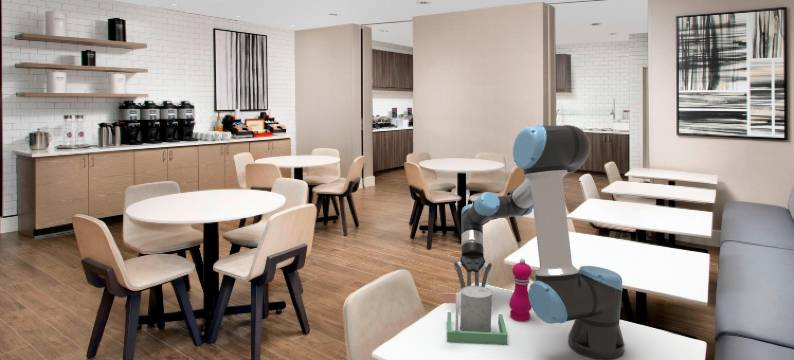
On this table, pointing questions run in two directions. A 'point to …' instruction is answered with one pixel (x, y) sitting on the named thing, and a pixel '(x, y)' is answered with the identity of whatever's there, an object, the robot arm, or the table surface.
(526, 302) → the pepper mill
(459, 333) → the putting stop
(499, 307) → the table surface
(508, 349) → the table surface
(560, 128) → the robot arm
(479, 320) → the concrete cylinder
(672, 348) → the table surface
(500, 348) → the table surface
